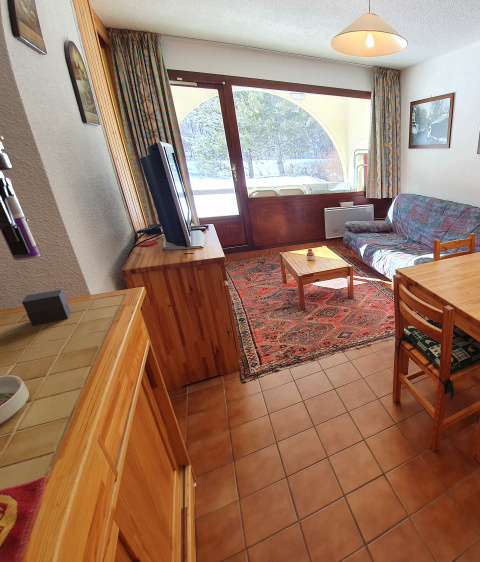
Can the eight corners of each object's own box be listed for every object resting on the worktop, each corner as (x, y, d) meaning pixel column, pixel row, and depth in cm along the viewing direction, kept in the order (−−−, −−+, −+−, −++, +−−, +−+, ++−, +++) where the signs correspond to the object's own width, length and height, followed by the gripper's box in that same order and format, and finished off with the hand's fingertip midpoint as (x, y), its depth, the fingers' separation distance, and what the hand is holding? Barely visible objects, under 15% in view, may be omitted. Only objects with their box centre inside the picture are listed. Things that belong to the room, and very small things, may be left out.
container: (12, 261, 76) (-17, 198, 70) (15, 256, 79) (-13, 196, 73) (39, 257, 78) (13, 197, 73) (41, 253, 82) (16, 195, 76)
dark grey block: (27, 314, 80) (21, 302, 79) (32, 306, 84) (26, 295, 82) (64, 307, 84) (59, 295, 83) (66, 300, 88) (62, 289, 86)
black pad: (32, 325, 81) (26, 314, 80) (36, 318, 85) (31, 306, 84) (68, 318, 85) (63, 307, 84) (70, 311, 89) (66, 300, 88)
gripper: (-8, 152, 64) (37, 258, 73) (15, 151, 78) (51, 241, 87) (-66, 151, 60) (-10, 263, 69) (-30, 150, 73) (12, 245, 82)
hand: (24, 251), depth 78 cm, fingers closed on container, 5 cm apart
